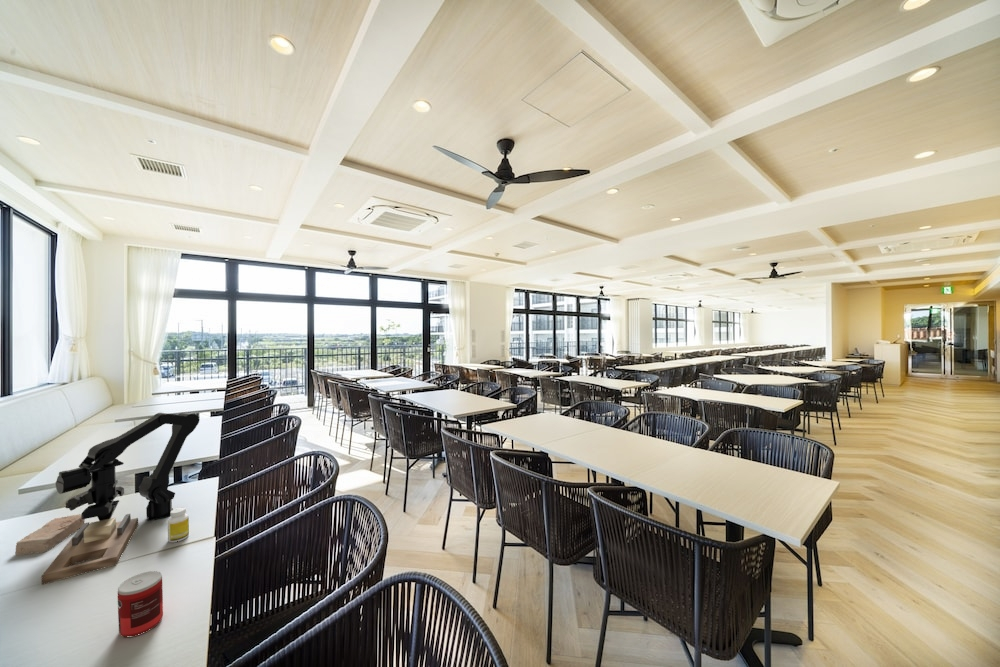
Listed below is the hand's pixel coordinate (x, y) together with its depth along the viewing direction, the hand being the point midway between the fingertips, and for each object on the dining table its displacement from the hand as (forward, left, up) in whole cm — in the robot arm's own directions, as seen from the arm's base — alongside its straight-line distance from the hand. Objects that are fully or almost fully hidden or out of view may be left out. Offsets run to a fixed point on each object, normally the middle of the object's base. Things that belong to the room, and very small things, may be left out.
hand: (105, 526), depth 128 cm
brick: (+14, -8, -4) cm, 17 cm away
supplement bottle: (-21, +16, -4) cm, 27 cm away
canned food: (-19, +59, -4) cm, 62 cm away
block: (0, +5, -1) cm, 5 cm away
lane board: (0, +10, -4) cm, 10 cm away
